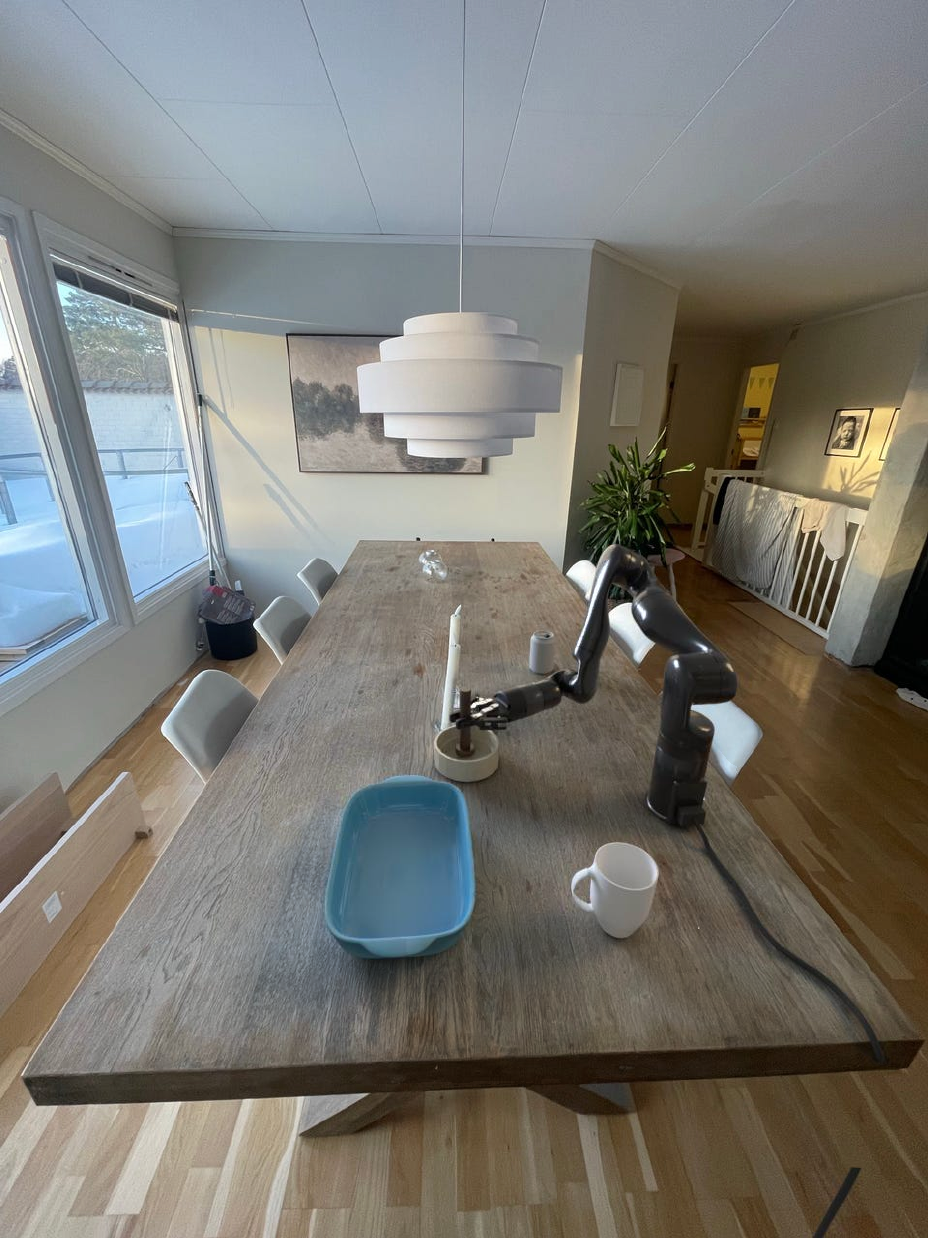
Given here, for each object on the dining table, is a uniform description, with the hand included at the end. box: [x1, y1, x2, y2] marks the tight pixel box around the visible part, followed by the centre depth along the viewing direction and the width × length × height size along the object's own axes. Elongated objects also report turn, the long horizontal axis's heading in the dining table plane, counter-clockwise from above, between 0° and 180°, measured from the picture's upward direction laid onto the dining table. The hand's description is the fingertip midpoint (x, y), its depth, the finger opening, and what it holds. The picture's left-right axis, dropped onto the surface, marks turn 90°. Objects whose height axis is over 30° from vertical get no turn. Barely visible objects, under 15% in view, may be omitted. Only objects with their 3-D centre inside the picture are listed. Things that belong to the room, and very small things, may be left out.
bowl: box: [433, 724, 500, 783], centre depth 114 cm, size 14×14×6 cm
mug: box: [570, 841, 660, 939], centre depth 76 cm, size 12×9×12 cm
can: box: [528, 630, 557, 675], centre depth 155 cm, size 8×8×12 cm
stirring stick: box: [455, 686, 475, 758], centre depth 113 cm, size 4×4×16 cm
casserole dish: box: [323, 774, 476, 959], centre depth 84 cm, size 37×22×7 cm, turn 4°
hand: (453, 721), depth 111 cm, fingers closed on stirring stick, 2 cm apart
